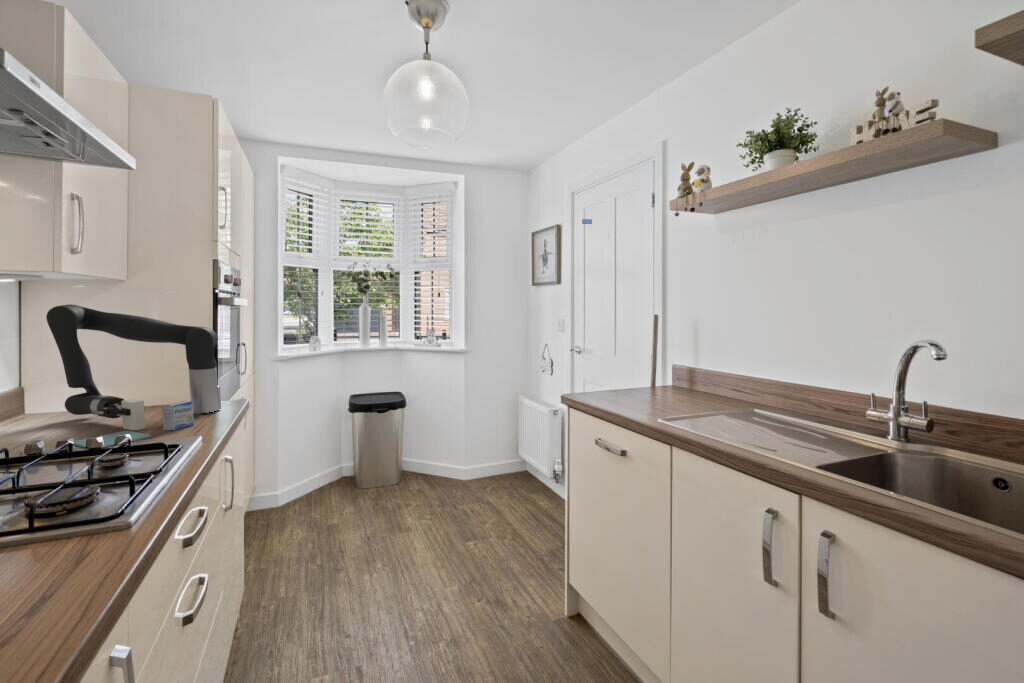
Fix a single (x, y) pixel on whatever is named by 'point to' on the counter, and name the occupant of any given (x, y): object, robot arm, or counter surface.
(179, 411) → the medicine box
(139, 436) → the mat
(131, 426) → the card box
